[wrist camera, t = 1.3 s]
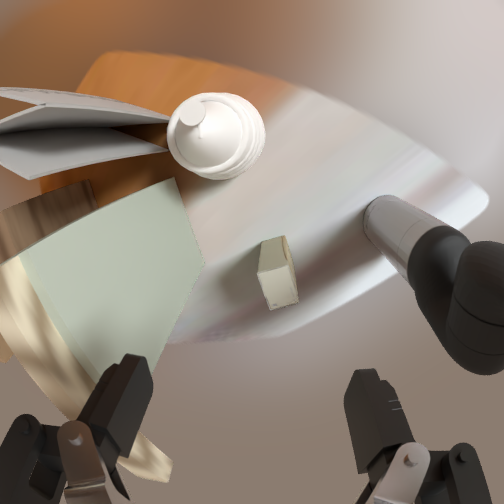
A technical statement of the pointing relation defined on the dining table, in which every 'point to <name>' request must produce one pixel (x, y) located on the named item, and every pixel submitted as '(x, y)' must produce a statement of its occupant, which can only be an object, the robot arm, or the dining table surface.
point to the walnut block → (43, 216)
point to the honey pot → (216, 135)
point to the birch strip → (59, 363)
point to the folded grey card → (69, 131)
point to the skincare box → (277, 273)
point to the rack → (116, 277)
